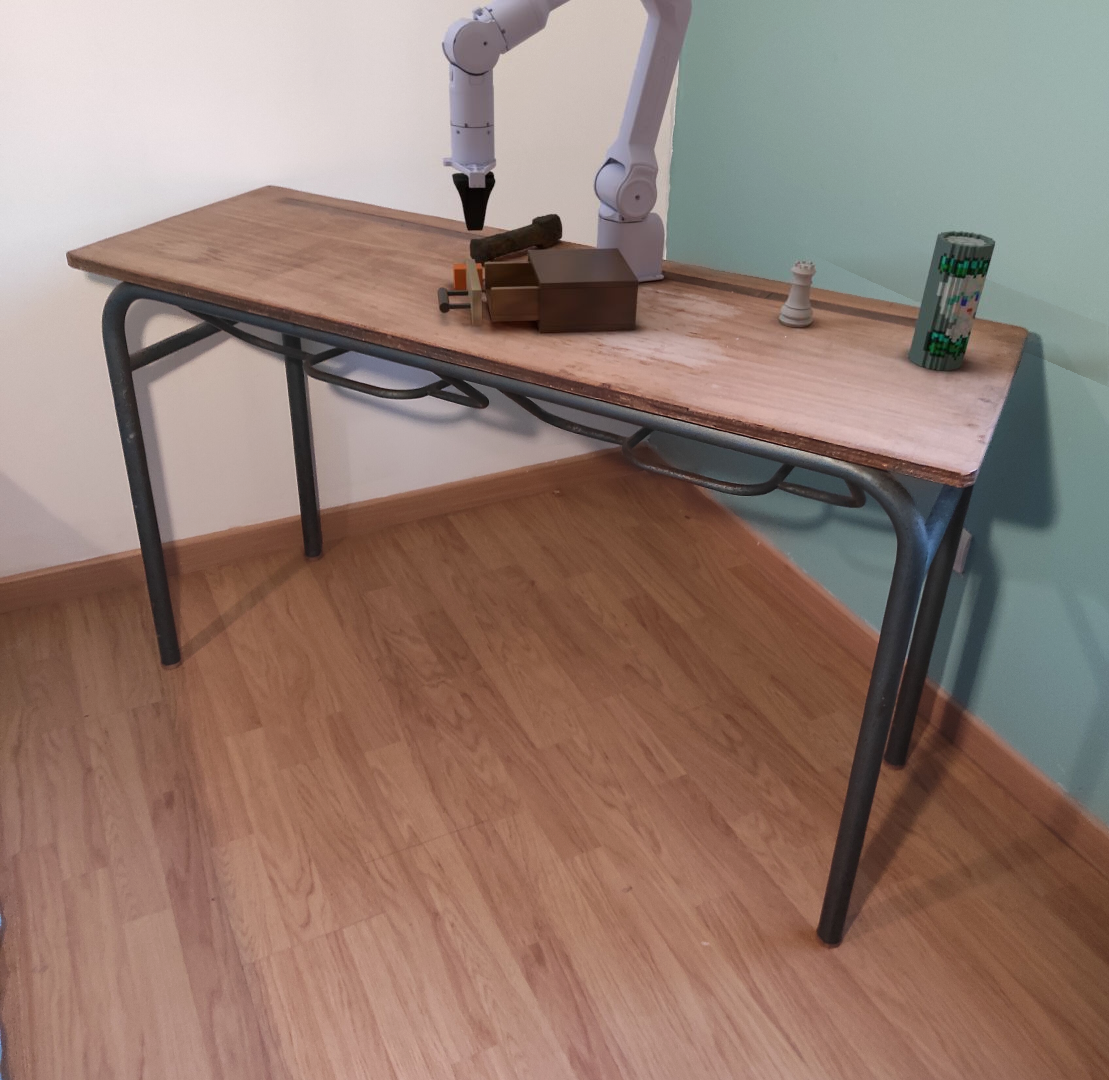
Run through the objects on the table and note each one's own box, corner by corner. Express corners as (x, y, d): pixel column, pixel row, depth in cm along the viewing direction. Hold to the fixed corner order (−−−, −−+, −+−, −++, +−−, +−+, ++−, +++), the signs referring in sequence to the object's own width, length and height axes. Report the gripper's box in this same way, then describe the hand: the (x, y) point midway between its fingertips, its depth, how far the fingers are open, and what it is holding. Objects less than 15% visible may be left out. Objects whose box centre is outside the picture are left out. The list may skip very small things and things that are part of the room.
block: (454, 291, 136) (454, 269, 135) (453, 285, 138) (453, 263, 137) (498, 290, 137) (498, 268, 135) (496, 284, 139) (496, 262, 137)
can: (932, 373, 116) (964, 249, 108) (899, 354, 121) (927, 234, 112) (971, 365, 118) (1005, 243, 110) (936, 347, 123) (967, 229, 114)
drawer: (440, 327, 122) (439, 290, 120) (436, 294, 133) (435, 259, 130) (561, 323, 124) (562, 287, 122) (548, 291, 135) (549, 257, 132)
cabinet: (539, 332, 124) (540, 282, 120) (527, 296, 135) (527, 249, 132) (635, 329, 126) (638, 280, 122) (615, 294, 137) (617, 247, 133)
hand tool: (485, 268, 145) (485, 237, 143) (468, 261, 147) (467, 231, 145) (573, 244, 156) (574, 215, 154) (556, 238, 159) (557, 210, 156)
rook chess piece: (792, 330, 127) (802, 270, 122) (771, 318, 130) (780, 260, 126) (818, 325, 128) (829, 265, 124) (797, 314, 132) (807, 256, 127)
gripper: (439, 113, 131) (443, 215, 138) (443, 135, 119) (448, 245, 126) (491, 113, 131) (492, 214, 139) (500, 134, 120) (501, 244, 127)
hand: (474, 229), depth 133 cm, fingers closed
